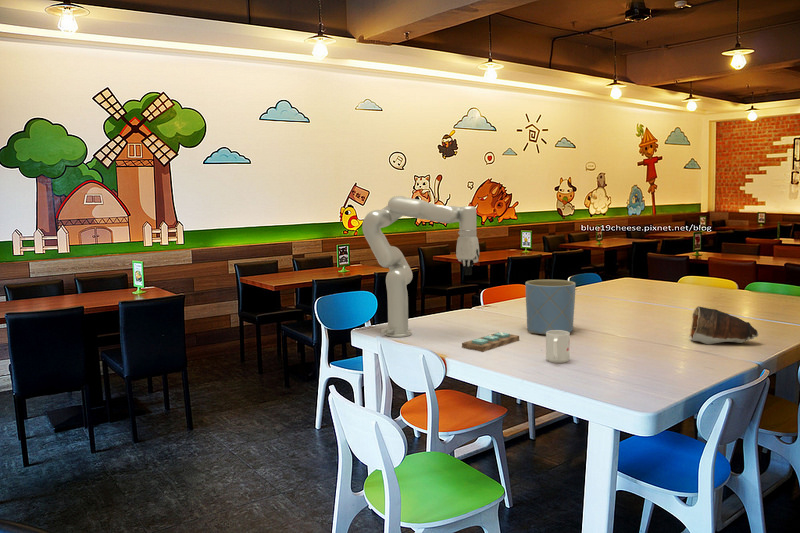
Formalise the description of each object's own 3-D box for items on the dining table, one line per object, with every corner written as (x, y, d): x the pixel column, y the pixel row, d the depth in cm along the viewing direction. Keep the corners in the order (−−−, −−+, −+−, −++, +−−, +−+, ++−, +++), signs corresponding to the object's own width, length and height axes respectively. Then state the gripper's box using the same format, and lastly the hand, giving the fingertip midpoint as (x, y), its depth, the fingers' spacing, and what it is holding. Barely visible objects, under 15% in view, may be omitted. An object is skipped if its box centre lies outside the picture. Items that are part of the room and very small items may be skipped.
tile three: (503, 341, 265) (503, 335, 264) (493, 340, 268) (493, 333, 268) (509, 339, 268) (509, 333, 268) (500, 338, 272) (500, 331, 271)
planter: (534, 325, 299) (534, 278, 297) (580, 329, 288) (581, 280, 285) (518, 334, 280) (518, 284, 277) (567, 339, 268) (567, 287, 266)
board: (482, 351, 249) (482, 347, 249) (461, 347, 257) (461, 343, 256) (519, 340, 268) (519, 335, 268) (498, 336, 276) (498, 332, 276)
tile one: (481, 348, 253) (481, 341, 253) (471, 346, 257) (471, 340, 256) (488, 346, 257) (488, 339, 256) (479, 344, 260) (478, 337, 260)
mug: (547, 356, 240) (547, 329, 238) (570, 358, 236) (571, 330, 235) (542, 364, 229) (543, 335, 227) (566, 366, 225) (567, 337, 224)
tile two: (492, 345, 259) (492, 338, 258) (483, 343, 262) (483, 336, 262) (499, 343, 262) (499, 336, 262) (489, 341, 266) (489, 334, 266)
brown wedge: (767, 320, 245) (700, 306, 252) (758, 356, 246) (692, 341, 253) (756, 317, 259) (694, 304, 267) (748, 352, 260) (686, 338, 267)
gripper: (449, 234, 271) (450, 274, 273) (476, 235, 260) (476, 277, 262) (460, 233, 276) (460, 272, 278) (486, 234, 266) (486, 275, 268)
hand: (468, 274), depth 270 cm, fingers closed
